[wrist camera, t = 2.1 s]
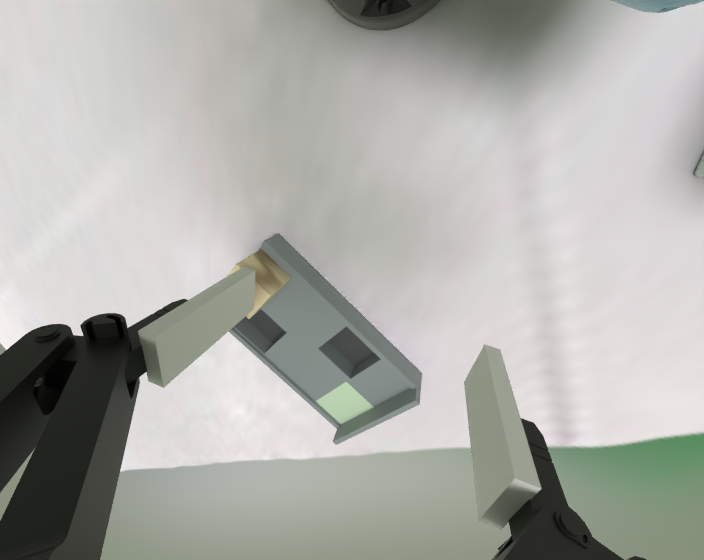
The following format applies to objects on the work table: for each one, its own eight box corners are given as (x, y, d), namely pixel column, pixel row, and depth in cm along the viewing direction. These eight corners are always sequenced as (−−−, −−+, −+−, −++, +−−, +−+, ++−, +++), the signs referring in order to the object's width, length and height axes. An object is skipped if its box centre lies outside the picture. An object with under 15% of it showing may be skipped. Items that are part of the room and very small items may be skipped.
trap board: (223, 302, 49) (197, 321, 43) (278, 233, 40) (254, 246, 35) (346, 414, 52) (336, 444, 47) (421, 373, 43) (419, 404, 38)
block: (243, 273, 41) (217, 290, 36) (261, 249, 38) (236, 263, 33) (271, 299, 41) (248, 319, 37) (291, 277, 39) (270, 295, 34)
